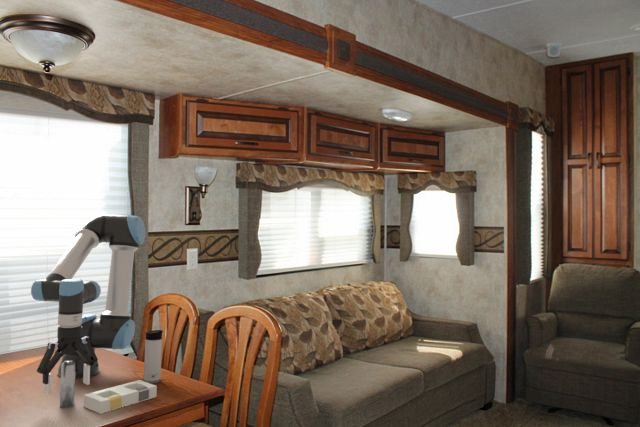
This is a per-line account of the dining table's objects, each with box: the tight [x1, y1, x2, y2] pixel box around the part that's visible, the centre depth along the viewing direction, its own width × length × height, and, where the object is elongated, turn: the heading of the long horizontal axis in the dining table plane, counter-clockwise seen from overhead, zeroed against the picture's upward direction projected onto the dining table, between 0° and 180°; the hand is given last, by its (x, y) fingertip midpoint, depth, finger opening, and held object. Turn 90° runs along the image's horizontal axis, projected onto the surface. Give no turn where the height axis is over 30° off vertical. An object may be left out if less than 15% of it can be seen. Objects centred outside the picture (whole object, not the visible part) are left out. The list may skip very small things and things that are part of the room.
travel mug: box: [143, 329, 164, 385], centre depth 214 cm, size 6×7×20 cm
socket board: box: [83, 379, 158, 415], centre depth 191 cm, size 10×22×4 cm, turn 145°
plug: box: [59, 360, 76, 409], centre depth 185 cm, size 4×4×15 cm
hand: (67, 388), depth 185 cm, fingers open, 13 cm apart
